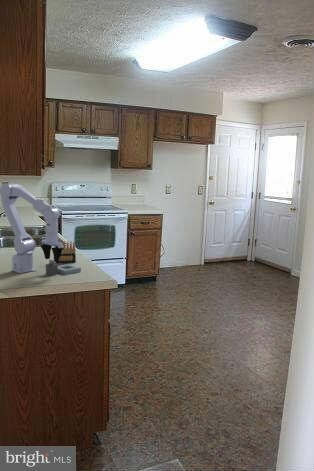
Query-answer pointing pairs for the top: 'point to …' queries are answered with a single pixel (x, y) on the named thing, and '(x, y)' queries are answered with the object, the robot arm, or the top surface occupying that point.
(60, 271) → the socket plate
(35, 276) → the top surface
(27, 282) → the top surface
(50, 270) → the plug
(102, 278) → the top surface
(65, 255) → the ammunition clip
